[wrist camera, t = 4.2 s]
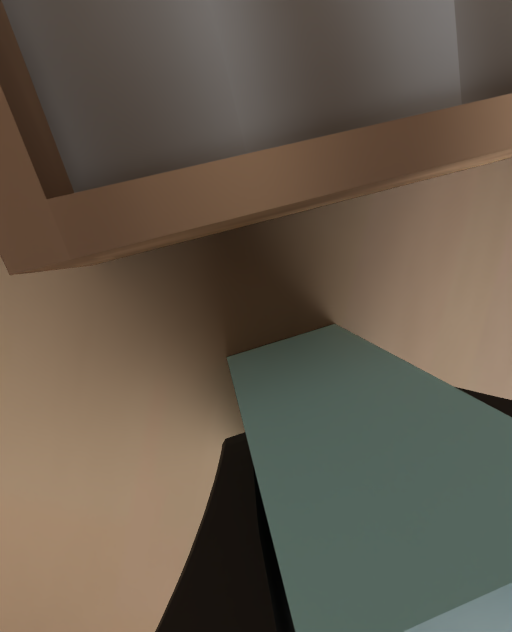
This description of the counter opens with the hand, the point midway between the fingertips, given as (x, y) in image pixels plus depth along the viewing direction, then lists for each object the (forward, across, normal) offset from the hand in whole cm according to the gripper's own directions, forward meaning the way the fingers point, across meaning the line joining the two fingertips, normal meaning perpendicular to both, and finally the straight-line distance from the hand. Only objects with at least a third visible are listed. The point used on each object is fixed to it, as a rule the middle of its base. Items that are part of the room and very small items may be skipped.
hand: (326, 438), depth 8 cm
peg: (+3, 0, 0) cm, 3 cm away
